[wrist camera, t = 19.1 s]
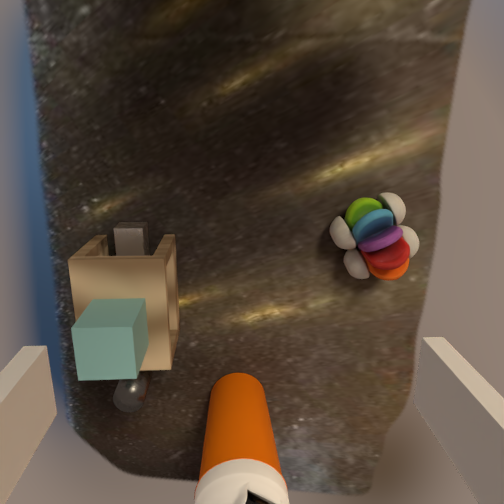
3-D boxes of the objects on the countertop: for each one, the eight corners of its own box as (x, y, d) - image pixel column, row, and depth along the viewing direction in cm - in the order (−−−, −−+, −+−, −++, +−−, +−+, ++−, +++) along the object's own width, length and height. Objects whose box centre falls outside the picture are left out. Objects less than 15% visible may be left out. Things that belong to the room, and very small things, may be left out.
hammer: (119, 222, 48) (95, 244, 39) (148, 221, 48) (131, 244, 39) (132, 365, 53) (114, 412, 45) (158, 364, 53) (145, 411, 45)
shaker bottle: (192, 410, 56) (174, 560, 37) (220, 355, 54) (217, 484, 35) (253, 432, 58) (266, 587, 39) (283, 380, 56) (312, 517, 36)
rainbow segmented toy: (351, 282, 52) (370, 307, 45) (319, 212, 49) (333, 228, 42) (415, 250, 51) (445, 271, 44) (386, 178, 49) (413, 188, 42)
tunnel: (95, 235, 48) (67, 259, 40) (175, 234, 49) (164, 258, 40) (106, 330, 52) (82, 372, 43) (180, 328, 53) (170, 369, 44)
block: (92, 299, 41) (71, 328, 35) (145, 298, 41) (132, 326, 36) (98, 345, 43) (78, 380, 37) (148, 344, 43) (136, 378, 37)
